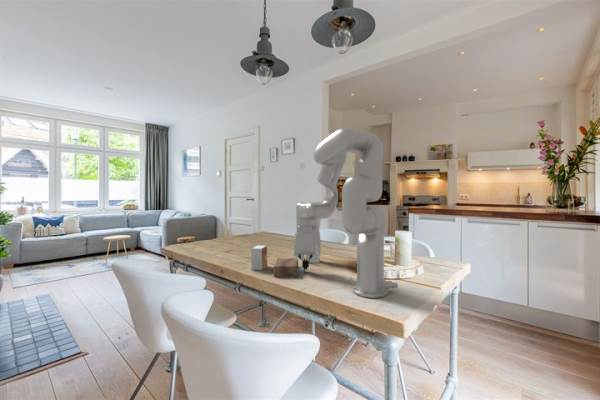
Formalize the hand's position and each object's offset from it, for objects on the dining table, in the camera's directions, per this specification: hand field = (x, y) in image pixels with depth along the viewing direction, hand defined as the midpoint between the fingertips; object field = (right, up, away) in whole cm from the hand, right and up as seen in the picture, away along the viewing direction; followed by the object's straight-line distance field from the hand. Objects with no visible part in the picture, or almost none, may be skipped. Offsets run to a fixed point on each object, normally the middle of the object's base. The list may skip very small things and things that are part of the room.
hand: (305, 268), depth 125 cm
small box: (-22, -2, +8) cm, 24 cm away
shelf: (-9, -2, 0) cm, 9 cm away
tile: (-7, -2, -1) cm, 7 cm away
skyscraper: (+5, -1, +19) cm, 19 cm away
